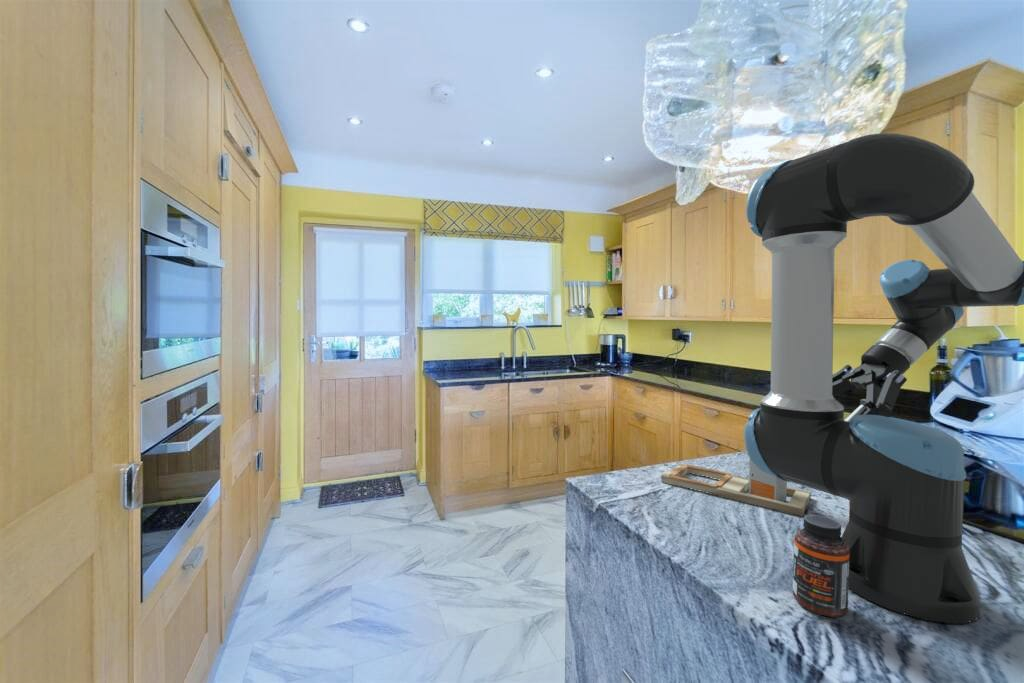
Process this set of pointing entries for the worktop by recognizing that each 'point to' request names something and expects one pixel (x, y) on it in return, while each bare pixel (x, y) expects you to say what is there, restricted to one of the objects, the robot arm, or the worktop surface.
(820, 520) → the supplement bottle
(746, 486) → the socket rail
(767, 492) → the skincare box
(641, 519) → the worktop surface
